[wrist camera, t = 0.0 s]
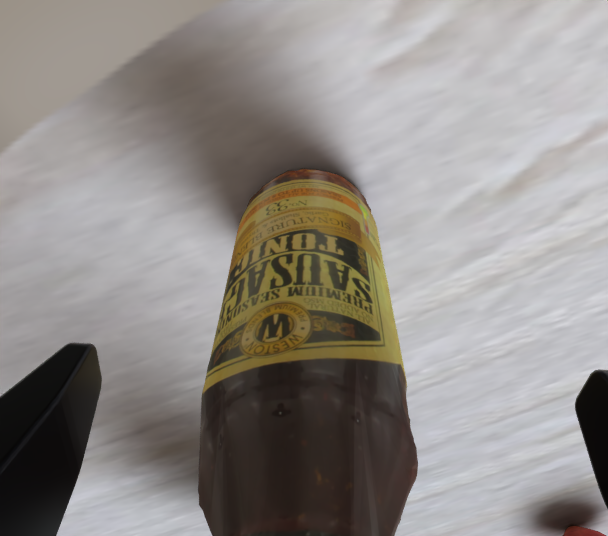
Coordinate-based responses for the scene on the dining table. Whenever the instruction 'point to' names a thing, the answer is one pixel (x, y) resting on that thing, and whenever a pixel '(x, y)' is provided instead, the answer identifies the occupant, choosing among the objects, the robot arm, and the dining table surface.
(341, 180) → the sauce bottle
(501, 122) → the dining table surface
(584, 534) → the onion
